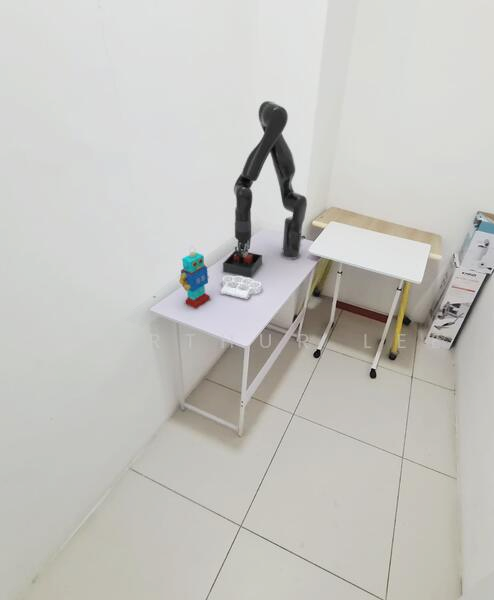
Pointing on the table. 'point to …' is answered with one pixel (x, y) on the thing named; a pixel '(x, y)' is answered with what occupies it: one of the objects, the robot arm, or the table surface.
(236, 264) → the storage box
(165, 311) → the table surface
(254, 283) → the knuckle duster
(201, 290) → the toy robot
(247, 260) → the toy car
